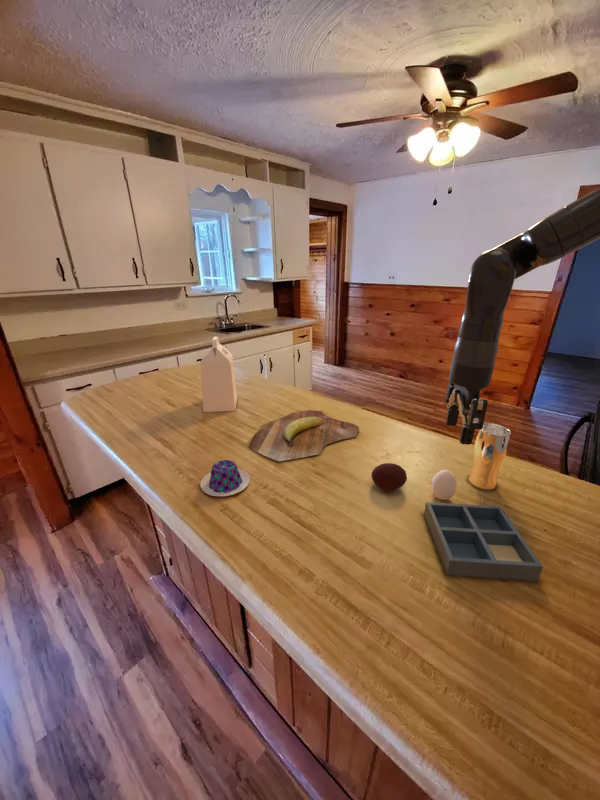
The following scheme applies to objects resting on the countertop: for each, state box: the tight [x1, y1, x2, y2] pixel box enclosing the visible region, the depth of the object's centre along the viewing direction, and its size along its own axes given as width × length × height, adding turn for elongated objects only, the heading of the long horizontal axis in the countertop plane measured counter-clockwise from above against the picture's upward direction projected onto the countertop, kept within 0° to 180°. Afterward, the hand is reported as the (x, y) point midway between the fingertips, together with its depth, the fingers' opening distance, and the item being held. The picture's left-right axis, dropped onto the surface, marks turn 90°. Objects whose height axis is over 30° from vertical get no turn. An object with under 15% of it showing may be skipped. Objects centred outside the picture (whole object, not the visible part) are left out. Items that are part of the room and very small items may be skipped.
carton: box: [423, 501, 544, 582], centre depth 65 cm, size 15×15×3 cm
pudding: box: [199, 459, 251, 497], centre depth 82 cm, size 12×12×5 cm
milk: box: [200, 336, 238, 413], centre depth 125 cm, size 12×12×26 cm
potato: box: [371, 462, 408, 492], centre depth 81 cm, size 7×8×6 cm
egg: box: [431, 469, 458, 501], centre depth 77 cm, size 5×5×7 cm
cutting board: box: [249, 409, 360, 462], centre depth 107 cm, size 35×27×4 cm
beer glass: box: [468, 422, 512, 491], centre depth 82 cm, size 7×7×15 cm
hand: (457, 433), depth 72 cm, fingers open, 8 cm apart
